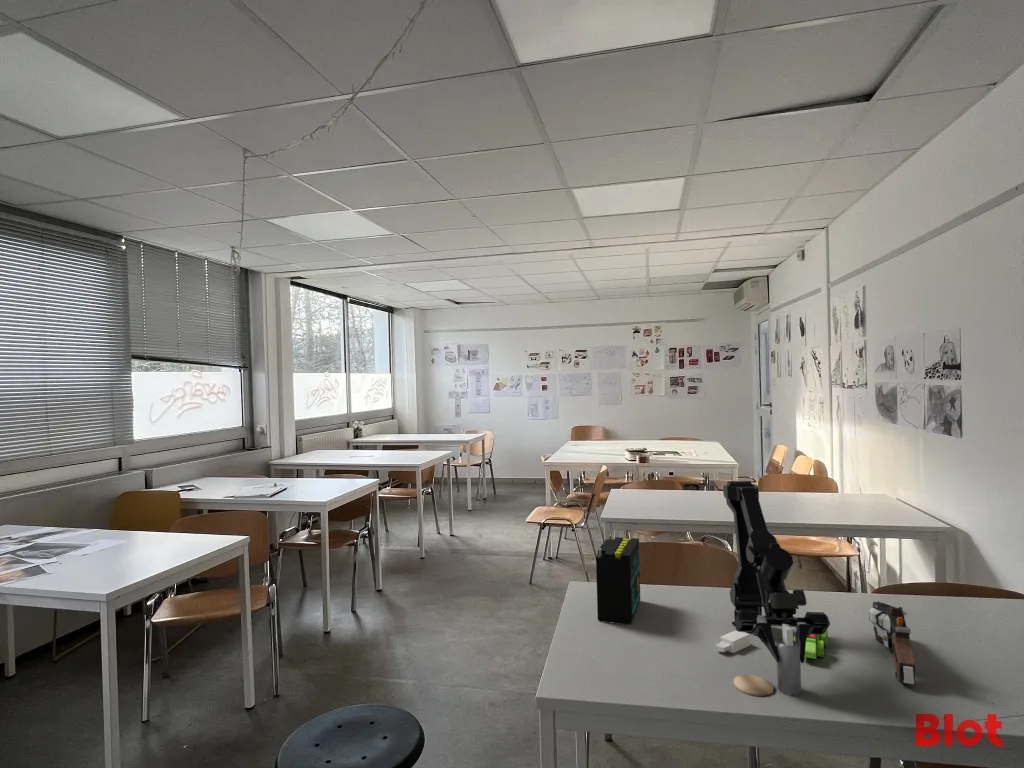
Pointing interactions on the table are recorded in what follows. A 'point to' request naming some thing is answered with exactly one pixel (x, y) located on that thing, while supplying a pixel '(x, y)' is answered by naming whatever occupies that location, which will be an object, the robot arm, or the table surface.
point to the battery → (618, 580)
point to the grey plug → (788, 663)
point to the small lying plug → (733, 642)
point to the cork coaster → (753, 685)
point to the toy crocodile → (815, 645)
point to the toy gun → (894, 638)
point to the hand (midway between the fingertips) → (790, 662)
